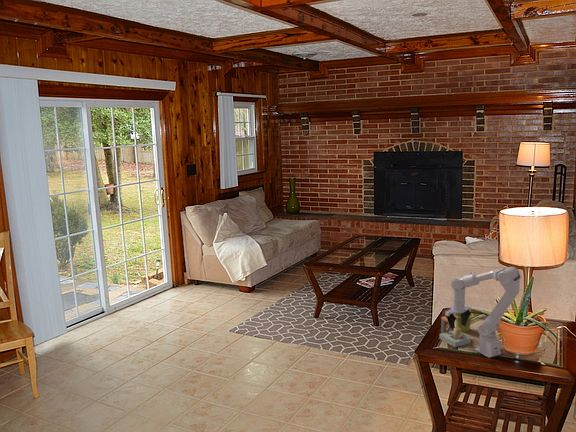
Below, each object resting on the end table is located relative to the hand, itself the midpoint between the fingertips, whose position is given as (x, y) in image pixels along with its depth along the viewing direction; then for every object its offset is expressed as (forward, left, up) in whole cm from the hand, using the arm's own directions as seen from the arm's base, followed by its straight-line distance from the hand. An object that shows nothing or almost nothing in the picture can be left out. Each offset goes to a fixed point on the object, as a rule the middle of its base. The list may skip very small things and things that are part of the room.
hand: (457, 326), depth 256 cm
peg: (0, 0, -8) cm, 8 cm away
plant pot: (+10, -13, -8) cm, 18 cm away
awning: (+7, -1, -8) cm, 11 cm away
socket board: (+2, 0, -8) cm, 8 cm away
